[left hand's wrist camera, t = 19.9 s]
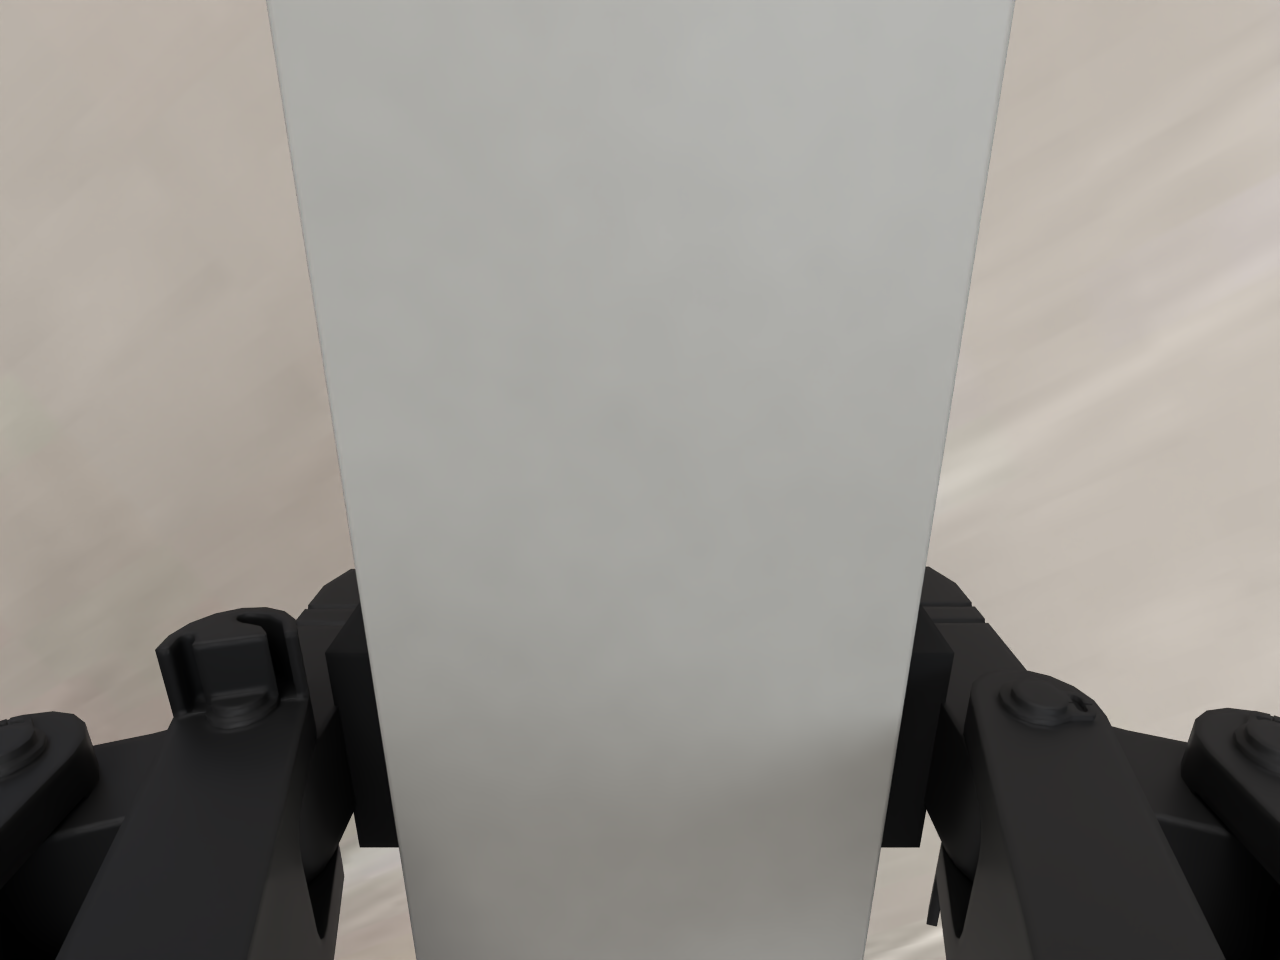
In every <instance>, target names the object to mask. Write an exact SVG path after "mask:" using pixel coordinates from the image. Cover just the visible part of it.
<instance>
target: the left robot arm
mask: <svg viewBox="0 0 1280 960" xmlns="http://www.w3.org/2000/svg"><path fill="white" fill-rule="evenodd" d="M155 651H156V655H157V658H158V662H159V666H160V669H161V673H162V677H163V680H164V684H165V687H166V691H167V695H168V698H169V702H170V705H171V709H172V713H173V716H174V718H173V720H172V722H171V724H170V726H169V728H168V730H165V731H161V732H157V733H154V734H149V735H144V736H139V737H134V738H129V739H124V740H119V741H114V742H109V743H104V744H99V745H94V746H93V745H92V742H91V739H90V736H89V733H88V730H87V727H86V724H85V722H83V721H82V720H81V719H79V718H78V717H77V716H75V715H74V714H69V713H61V712H54V711H52V712H44V713H36V714H27V715H21V716H17V717H12V718H10V719H9V720H7V719H5V720H2V721H0V960H334V954H335V946H336V938H337V930H338V922H339V914H340V906H341V898H342V890H343V882H344V871H343V864H342V858H341V853H340V847H339V842H340V840H341V838H342V835H343V833H344V831H345V829H346V827H347V825H348V823H349V820H350V818H351V816H352V814H353V812H354V817H355V823H356V829H357V834H358V840H359V845H360V847H399V844H398V838H397V831H396V825H395V819H394V812H393V806H392V800H391V793H390V787H389V780H388V774H387V768H386V761H385V755H384V749H383V742H382V736H381V729H380V723H379V717H378V710H377V704H376V698H375V691H374V685H373V678H372V672H371V666H370V659H369V653H368V647H367V640H366V634H365V627H364V621H363V615H362V608H361V602H360V596H359V589H358V583H357V576H356V570H355V569H350V570H349V571H347V572H345V573H344V574H342V575H341V576H339V577H337V578H336V579H334V580H333V581H331V582H329V583H328V584H326V585H324V586H323V588H322V589H321V590H320V591H319V593H318V594H317V595H316V596H315V597H314V599H313V600H312V601H311V602H310V604H309V605H308V609H305V610H304V611H303V612H302V614H301V615H300V616H299V617H298V619H297V620H295V619H294V618H293V617H291V616H290V615H289V614H288V613H286V612H285V611H281V610H276V609H272V608H267V607H259V608H240V609H235V610H230V611H225V612H220V613H216V614H213V615H210V616H208V617H205V618H202V619H200V620H197V621H194V622H191V623H189V624H188V625H186V626H184V627H183V628H181V629H179V630H177V631H176V632H174V633H172V634H171V635H169V636H168V637H167V638H166V639H165V640H164V641H163V642H162V643H161V644H160V645H159V646H158V647H157V648H156V650H155ZM926 809H927V811H928V814H929V816H930V818H931V820H932V822H933V824H934V826H935V829H936V831H937V833H938V835H939V837H940V839H941V841H942V842H941V847H940V853H939V858H938V863H937V868H936V873H935V879H934V884H933V889H932V894H931V899H930V904H929V910H928V917H927V924H928V925H932V926H937V923H938V918H939V913H940V912H941V920H942V928H943V936H944V944H945V952H946V960H1280V717H1277V716H1274V717H1273V716H1270V714H1267V713H1262V712H1258V711H1249V710H1241V709H1233V708H1223V709H1215V710H1208V711H1206V712H1204V713H1203V714H1202V715H1200V716H1199V717H1198V718H1196V719H1195V722H1194V725H1193V728H1192V731H1191V734H1190V737H1189V740H1188V743H1187V742H1182V741H1178V740H1173V739H1168V738H1163V737H1158V736H1153V735H1148V734H1143V733H1138V732H1133V731H1128V730H1124V729H1120V728H1116V727H1112V726H1111V724H1110V722H1109V720H1108V718H1107V716H1106V715H1105V714H1104V712H1103V711H1102V710H1101V709H1100V707H1099V706H1098V705H1097V704H1096V702H1095V701H1094V700H1093V699H1091V698H1090V697H1088V696H1087V695H1085V694H1084V693H1083V692H1081V691H1080V690H1078V689H1077V688H1075V687H1074V686H1072V685H1069V684H1067V683H1065V682H1062V681H1060V680H1058V679H1056V678H1053V677H1051V676H1048V675H1044V674H1039V673H1035V672H1031V671H1027V670H1026V669H1025V668H1024V666H1023V665H1022V664H1021V663H1020V661H1019V660H1018V659H1017V658H1016V657H1015V655H1014V654H1013V653H1012V652H1011V650H1010V649H1009V648H1008V647H1007V645H1006V644H1005V643H1004V642H1003V641H1002V639H1001V638H1000V637H999V636H998V634H997V633H996V632H995V631H994V630H993V628H992V627H991V626H990V625H989V623H985V618H984V617H983V616H982V615H981V614H980V612H979V611H978V610H977V609H976V607H972V603H971V601H970V600H969V599H968V598H967V596H966V595H965V594H964V593H963V591H962V590H961V589H960V588H959V587H958V585H957V584H956V583H955V582H953V581H951V580H950V579H948V578H946V577H945V576H943V575H941V574H940V573H938V572H937V571H935V570H933V569H932V568H930V567H925V573H924V579H923V585H922V592H921V598H920V604H919V611H918V617H917V623H916V630H915V636H914V642H913V648H912V655H911V661H910V667H909V674H908V680H907V686H906V693H905V699H904V705H903V711H902V718H901V724H900V730H899V737H898V743H897V749H896V756H895V762H894V768H893V775H892V781H891V787H890V793H889V800H888V806H887V812H886V819H885V825H884V831H883V838H882V844H881V847H920V842H921V837H922V831H923V825H924V820H925V814H926Z"/></svg>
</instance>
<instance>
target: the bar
mask: <svg viewBox="0 0 1280 960" xmlns="http://www.w3.org/2000/svg"><path fill="white" fill-rule="evenodd" d="M266 3H267V9H268V16H269V22H270V28H271V35H272V41H273V48H274V54H275V60H276V67H277V73H278V79H279V86H280V92H281V99H282V105H283V111H284V118H285V124H286V130H287V137H288V143H289V150H290V156H291V162H292V169H293V175H294V181H295V188H296V194H297V201H298V207H299V213H300V220H301V226H302V232H303V239H304V245H305V252H306V258H307V264H308V271H309V277H310V283H311V290H312V296H313V302H314V309H315V315H316V322H317V328H318V334H319V341H320V347H321V353H322V360H323V366H324V373H325V379H326V385H327V392H328V398H329V404H330V411H331V417H332V424H333V430H334V436H335V443H336V449H337V455H338V462H339V468H340V475H341V481H342V487H343V494H344V500H345V506H346V513H347V519H348V526H349V532H350V538H351V545H352V551H353V557H354V564H355V570H356V576H357V583H358V589H359V596H360V602H361V608H362V615H363V621H364V627H365V634H366V640H367V647H368V653H369V659H370V666H371V672H372V678H373V685H374V691H375V698H376V704H377V710H378V717H379V723H380V729H381V736H382V742H383V749H384V755H385V761H386V768H387V774H388V780H389V787H390V793H391V800H392V806H393V812H394V819H395V825H396V831H397V838H398V844H399V851H400V857H401V863H402V870H403V876H404V882H405V889H406V895H407V901H408V908H409V914H410V921H411V927H412V933H413V940H414V946H415V952H416V959H417V960H863V957H864V951H865V945H866V938H867V932H868V926H869V920H870V913H871V907H872V901H873V894H874V888H875V882H876V875H877V869H878V863H879V856H880V850H881V844H882V838H883V831H884V825H885V819H886V812H887V806H888V800H889V793H890V787H891V781H892V775H893V768H894V762H895V756H896V749H897V743H898V737H899V730H900V724H901V718H902V711H903V705H904V699H905V693H906V686H907V680H908V674H909V667H910V661H911V655H912V648H913V642H914V636H915V630H916V623H917V617H918V611H919V604H920V598H921V592H922V585H923V579H924V573H925V566H926V560H927V554H928V548H929V541H930V535H931V529H932V522H933V516H934V510H935V503H936V497H937V491H938V485H939V478H940V472H941V466H942V459H943V453H944V447H945V440H946V434H947V428H948V421H949V415H950V409H951V403H952V396H953V390H954V384H955V377H956V371H957V365H958V358H959V352H960V346H961V339H962V333H963V327H964V321H965V314H966V308H967V302H968V295H969V289H970V283H971V276H972V270H973V264H974V258H975V251H976V245H977V239H978V232H979V226H980V220H981V213H982V207H983V201H984V194H985V188H986V182H987V176H988V169H989V163H990V157H991V150H992V144H993V138H994V131H995V125H996V119H997V113H998V106H999V100H1000V94H1001V87H1002V81H1003V75H1004V68H1005V62H1006V56H1007V49H1008V43H1009V37H1010V31H1011V24H1012V18H1013V12H1014V5H1015V0H266Z"/></svg>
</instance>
